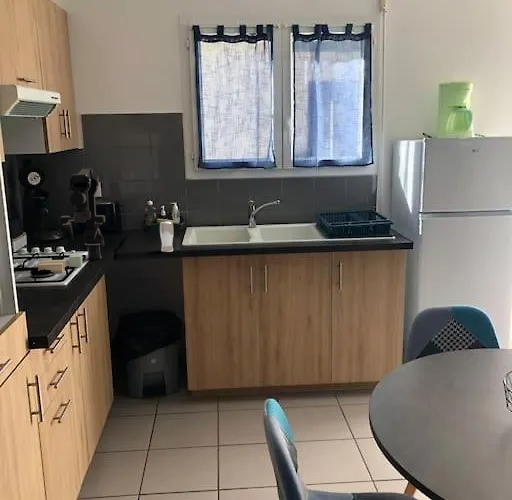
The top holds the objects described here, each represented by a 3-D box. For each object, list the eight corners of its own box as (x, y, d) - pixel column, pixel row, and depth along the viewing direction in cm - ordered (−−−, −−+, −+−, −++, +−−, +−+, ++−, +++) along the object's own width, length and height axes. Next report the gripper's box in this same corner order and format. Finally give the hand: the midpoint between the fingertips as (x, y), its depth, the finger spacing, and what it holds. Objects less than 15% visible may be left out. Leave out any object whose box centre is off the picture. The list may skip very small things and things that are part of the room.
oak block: (43, 269, 259) (42, 260, 258) (66, 268, 260) (65, 259, 259) (38, 274, 249) (37, 265, 248) (62, 273, 250) (61, 264, 250)
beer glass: (164, 249, 304) (164, 221, 301) (176, 250, 302) (175, 221, 299) (158, 251, 298) (157, 222, 295) (169, 252, 295) (168, 223, 292)
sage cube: (71, 265, 265) (70, 255, 264) (82, 265, 265) (82, 254, 264) (69, 268, 260) (68, 257, 259) (81, 267, 260) (80, 256, 260)
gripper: (55, 206, 239) (57, 243, 242) (101, 205, 242) (103, 241, 245) (60, 203, 250) (62, 238, 253) (104, 202, 253) (106, 237, 256)
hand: (83, 239), depth 251 cm, fingers open, 9 cm apart
